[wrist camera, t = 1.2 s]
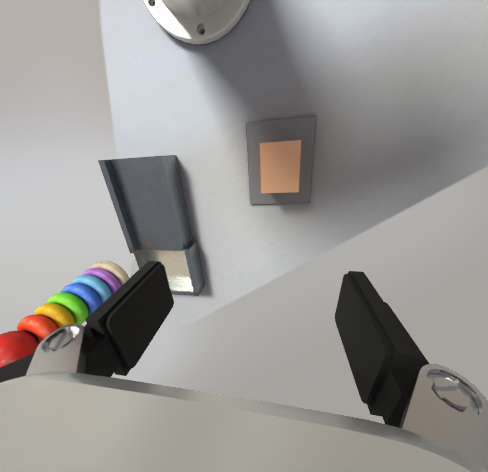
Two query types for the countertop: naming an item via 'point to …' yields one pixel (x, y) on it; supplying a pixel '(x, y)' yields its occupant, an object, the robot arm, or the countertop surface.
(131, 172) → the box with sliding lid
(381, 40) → the countertop surface
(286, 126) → the mat
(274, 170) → the tan cardboard box
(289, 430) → the robot arm
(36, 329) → the stacking toy
